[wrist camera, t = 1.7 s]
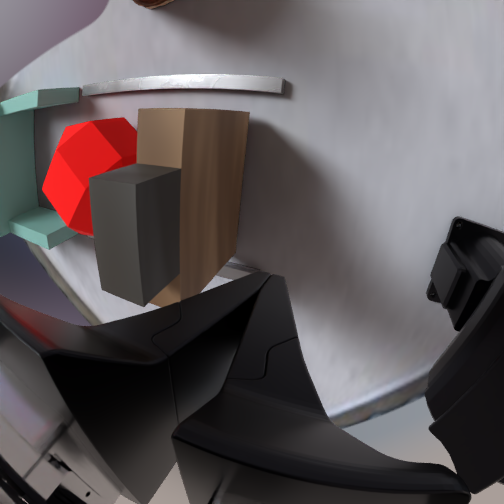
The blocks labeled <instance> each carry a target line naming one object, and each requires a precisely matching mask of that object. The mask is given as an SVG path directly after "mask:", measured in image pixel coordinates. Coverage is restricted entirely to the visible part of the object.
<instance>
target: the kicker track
mask: <svg viewBox="0 0 504 504" xmlns="http://www.w3.org/2000/svg"><path fill="white" fill-rule="evenodd" d="M284 86H285V79H283V78H278V77H266V76H251V75H227V74H192V75H167V76H153V77H141V78H132V79H123V80H115V81H108V82H102V83H95V84H90V85H84V86H83V90H82V96H90V95H98V94H106V93H115V92H125V91H138V90H155V89H229V90H246V91H259V92H270V93H280V94H284ZM87 237H90V238H93V239H94V236H90V235H87ZM256 271H261V270H258V269H255V268H251V267H247V266H243V265H239V264H235V263H231V262H227V263H226V264H225V265H224V266H223V267H222V269H221V270H220V271H219V272H218V273H217V274H216V275H217V276H221V277H225V278H228V279H232V280H236V279H238V278H241V277H244V276H246V275H249V274H251V273H254V272H256Z"/></svg>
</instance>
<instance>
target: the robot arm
mask: <svg viewBox="0 0 504 504" xmlns="http://www.w3.org/2000/svg"><path fill="white" fill-rule="evenodd" d="M458 222H461V225H460V226H459V227H456V224H457V223H458ZM431 278H432V279H431V282H430V284H429V287H428V289H427V292H426V294H427V298H428V299H429V300H431V301H435V302H439V303H442V306H443V308H444V309H447V310H448V312H449V315H450V318H451V321H452V323H453V326H454V329H455V330H456V331H460V332H459V333H458V334H457V336H456V337H455V338H454V340H453V341H452V342H451V344H450V345H449V346H448V348H447V349H446V350H445V351H444V353H443V354H442V355H441V356H440V358H439V359H438V360H437V361H436V362H435V364H434V365H433V367H432V369H431V370H430V372H429V380H428V388H427V389H426V390H425V397H426V401H427V406H428V408H429V411H430V413H431V415H432V418H433V419H434V421H435V422H433V423H432V424H431V425H430V426H429V430H430V432H431V433H432V434H433V435H434V436H435V437H436V438H437V439H439V440H440V441H441V443H442V444H443V446H444V447H445V448H446V450H447V451H448V453H449V454H450V456H451V459H452V461H453V463H454V466H455V469H456V472H457V474H456V473H454V472H453V471H452V470H450V469H449V468H447V467H446V466H443V465H440V464H433V463H416V462H407V461H402V460H398V459H395V458H392V457H389V456H387V455H384V454H382V453H380V452H378V451H377V450H375V449H373V448H372V447H370V446H368V445H367V444H365V443H363V442H361V441H360V440H358V439H357V438H355V437H353V436H352V435H350V434H349V433H347V432H345V431H344V430H342V429H341V428H339V427H338V426H336V425H335V424H334V423H333V422H332V421H331V420H330V419H329V417H328V416H327V414H326V412H325V410H324V408H323V406H322V403H321V401H320V398H319V396H318V394H317V391H316V389H315V386H314V384H313V382H312V379H311V377H310V374H309V372H308V369H307V366H306V364H305V361H304V358H303V354H302V350H301V347H300V342H299V339H298V333H297V329H296V324H295V320H294V315H293V311H292V307H291V302H290V298H289V293H288V289H287V285H286V280H285V278H284V277H283V276H279V275H275V274H273V275H271V274H270V273H267V272H263V271H256V272H254V273H251V274H249V275H246V276H244V277H241V278H238V279H236V280H233V281H231V282H228V283H226V284H223V285H220V286H218V287H215V288H213V289H210V290H207V291H205V292H202V293H199V294H197V295H194V296H192V297H189V298H186V299H184V300H181V301H179V302H175V303H173V304H170V305H167V306H165V307H162V308H159V309H156V310H153V311H149V312H146V313H143V314H139V315H135V316H132V317H128V318H124V319H120V320H116V321H113V322H109V323H105V324H101V325H96V326H79V325H74V324H71V323H68V322H65V321H62V320H60V319H57V318H54V317H51V316H48V315H46V314H43V313H41V312H38V311H35V310H33V309H30V308H28V307H25V306H23V305H20V304H18V303H16V302H14V301H12V300H10V299H8V298H6V297H4V296H2V295H0V504H27V503H26V502H28V503H29V504H114V503H115V502H116V500H117V499H118V497H119V496H120V494H121V495H123V496H124V497H126V498H128V499H130V500H131V501H133V502H135V503H137V504H148V503H149V501H150V500H151V498H152V497H153V496H154V494H155V493H156V491H157V490H158V488H159V487H160V485H161V484H162V483H163V481H164V479H165V478H166V477H167V475H168V474H169V472H170V471H171V469H172V468H173V466H174V465H175V463H176V462H177V463H178V467H179V470H180V474H181V477H182V480H183V484H184V487H185V490H186V493H187V496H188V499H189V503H190V504H469V502H470V500H471V494H470V492H471V493H473V494H477V493H479V492H481V491H483V490H484V489H486V488H488V487H489V486H491V485H493V484H494V483H496V482H498V483H500V484H503V485H504V232H502V231H499V230H497V229H494V228H491V227H488V226H486V225H483V224H480V223H477V222H474V221H471V220H468V219H465V218H462V217H455V218H454V219H453V221H452V223H451V226H450V229H449V232H448V236H447V239H446V242H444V243H443V244H442V245H441V248H440V250H439V253H438V256H437V259H436V262H435V264H434V267H433V269H432V272H431ZM432 292H435V294H434V295H430V294H431V293H432ZM22 498H23V499H25V501H26V502H25V501H23V500H22Z"/></svg>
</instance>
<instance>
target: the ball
mask: <svg viewBox="0 0 504 504" xmlns="http://www.w3.org/2000/svg"><path fill="white" fill-rule="evenodd" d="M136 163H137V131H136V130H135V129H134V128H133V127H132V126H131V124H130V123H129V122H128V121H127V120H126V119H125V118H124V117H123V118H112V119H103V120H95V121H88V122H84V123H80V124H76V125H72V126H68V127H66V128H65V130H64V132H63V135H62V137H61V139H60V142H59V144H58V146H57V149H56V151H55V154H54V156H53V159H52V161H51V164H50V167H49V170H48V172H47V175H46V178H45V181H44V184H43V187H42V190H43V192H44V193H45V195H46V196H47V198H48V199H49V201H50V202H51V204H52V205H53V207H54V208H55V210H56V211H57V212H58V214H59V215H60V217H61V218H62V220H63V221H64V222H65V224H66V225H67V226H68V227H69V228H70V229H72V230H74V231H76V232H77V233H79V234H84V235H90V236H94V235H93V226H92V216H91V205H90V191H89V178H90V177H93V176H96V175H99V174H102V173H105V172H109V171H112V170H115V169H119V168H122V167H125V166H129V165H132V164H136Z"/></svg>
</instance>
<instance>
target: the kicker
mask: <svg viewBox="0 0 504 504" xmlns="http://www.w3.org/2000/svg"><path fill="white" fill-rule="evenodd" d="M249 114H250V112H244V111H232V110H218V109H193V108H148V109H139V110H138V129H137V163H136V164H132V165H129V166H125V167H122V168H119V169H115V170H112V171H109V172H105V173H102V174H99V175H96V176H93V177H90V178H89V191H90V205H91V216H92V226H93V235H94V243H95V250H96V257H97V264H98V270H99V276H100V282H101V288H102V290H104V291H106V292H108V293H111V294H113V295H115V296H118V297H120V298H123V299H125V300H127V301H130V302H132V303H135V304H137V305H140V306H142V307H145V306H146V305H147V304H148V303H151V304H154V305H157V306H159V307H165V306H167V305H170V304H173V303H175V302H179V301H181V300H184V299H186V298H189V297H192V296H194V295H197V294H199V293H200V292H201V291H202V290H203V289H204V288H205V287H206V285H207V284H208V283H209V282H210V281H211V280H212V279H213V278H214V276H215V275H216V274H217V273H218V272H219V271H220V270H221V269H222V267H223V266H224V265H225V264H226V263H227V262H228V261H229V259H230V258H231V257H232V256H233V255H234V254H235V253H236V244H237V233H238V222H239V212H240V201H241V191H242V181H243V171H244V161H245V152H246V142H247V133H248V123H249Z"/></svg>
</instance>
